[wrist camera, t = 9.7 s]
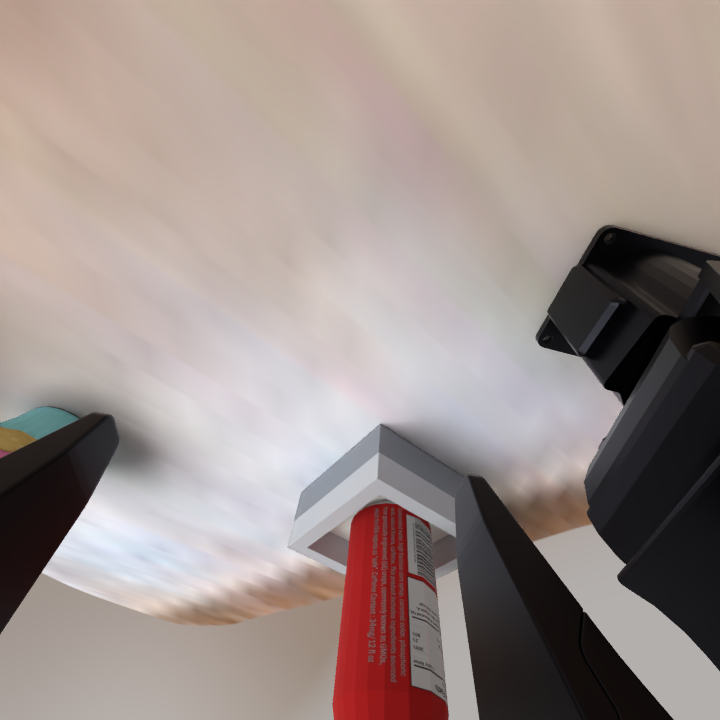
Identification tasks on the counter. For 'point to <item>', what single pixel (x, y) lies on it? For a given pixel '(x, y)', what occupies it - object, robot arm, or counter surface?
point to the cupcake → (31, 427)
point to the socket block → (377, 499)
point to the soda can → (390, 621)
